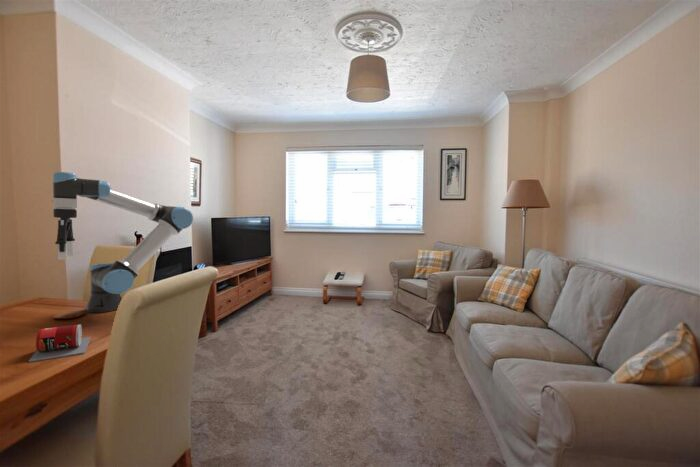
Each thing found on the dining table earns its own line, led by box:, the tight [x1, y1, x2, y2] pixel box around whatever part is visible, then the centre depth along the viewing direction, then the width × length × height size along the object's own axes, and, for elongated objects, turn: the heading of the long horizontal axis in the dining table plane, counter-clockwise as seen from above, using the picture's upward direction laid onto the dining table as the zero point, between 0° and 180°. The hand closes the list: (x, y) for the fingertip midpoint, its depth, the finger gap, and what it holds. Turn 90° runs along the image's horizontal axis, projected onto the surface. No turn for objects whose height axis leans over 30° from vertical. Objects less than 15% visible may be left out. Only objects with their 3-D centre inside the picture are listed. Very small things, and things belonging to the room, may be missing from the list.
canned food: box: [35, 324, 83, 352], centre depth 114 cm, size 8×8×11 cm
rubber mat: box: [28, 336, 91, 363], centre depth 115 cm, size 16×14×1 cm
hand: (65, 257), depth 140 cm, fingers open, 13 cm apart
